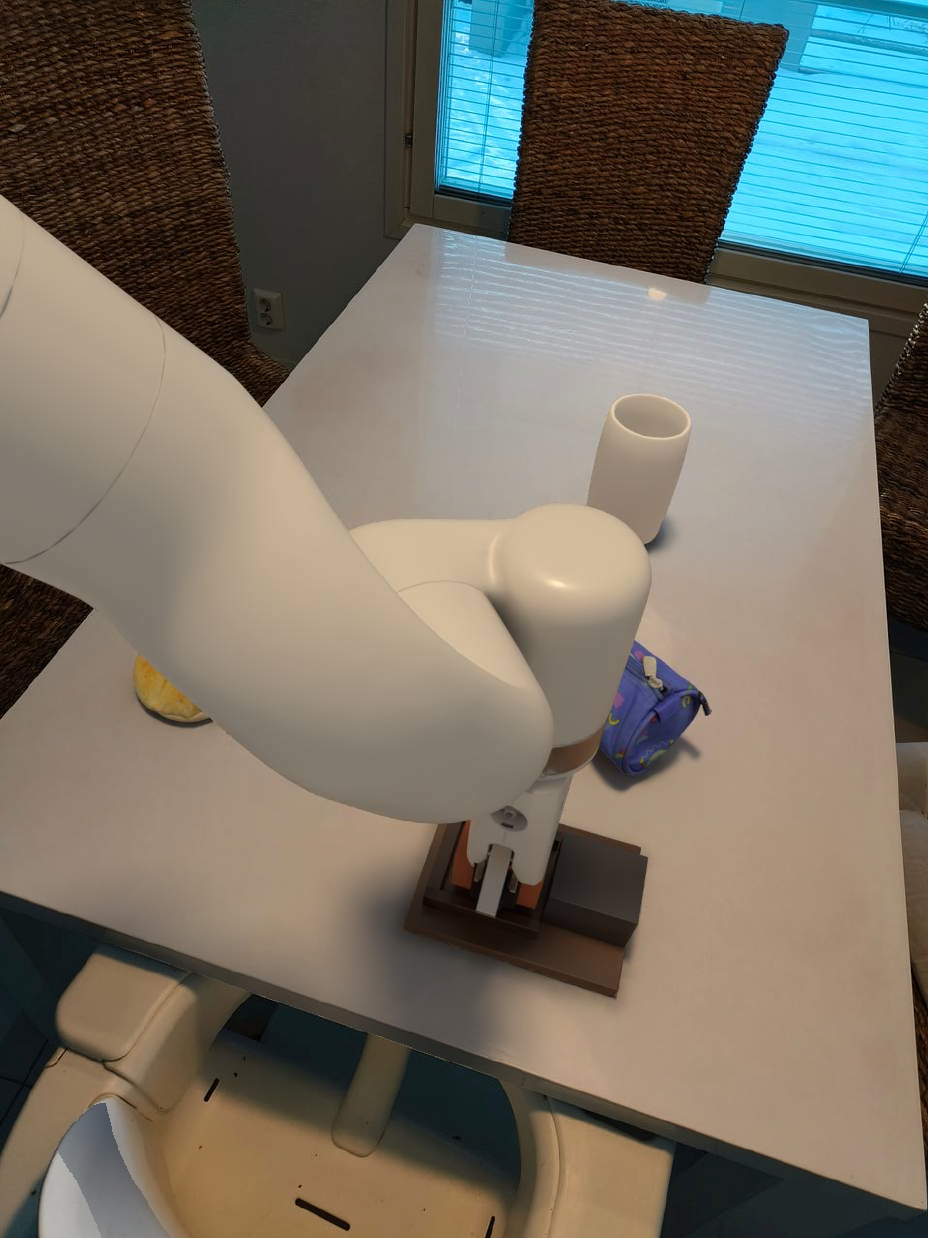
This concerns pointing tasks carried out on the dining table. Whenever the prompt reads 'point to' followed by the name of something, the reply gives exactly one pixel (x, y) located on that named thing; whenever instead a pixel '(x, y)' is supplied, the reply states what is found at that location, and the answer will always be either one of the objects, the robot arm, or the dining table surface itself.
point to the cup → (640, 461)
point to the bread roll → (163, 694)
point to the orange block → (465, 870)
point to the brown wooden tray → (542, 909)
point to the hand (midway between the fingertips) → (503, 861)
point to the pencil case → (648, 712)
